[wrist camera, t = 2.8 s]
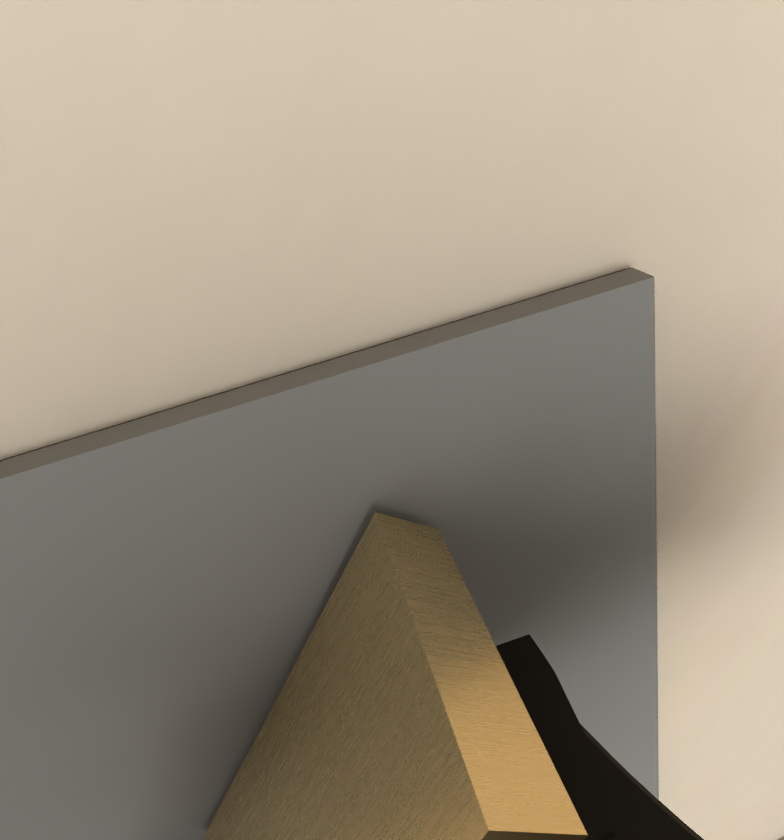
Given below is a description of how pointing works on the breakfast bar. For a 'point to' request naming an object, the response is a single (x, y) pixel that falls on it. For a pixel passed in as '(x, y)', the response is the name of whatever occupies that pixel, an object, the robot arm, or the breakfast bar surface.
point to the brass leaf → (398, 718)
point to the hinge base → (324, 551)
